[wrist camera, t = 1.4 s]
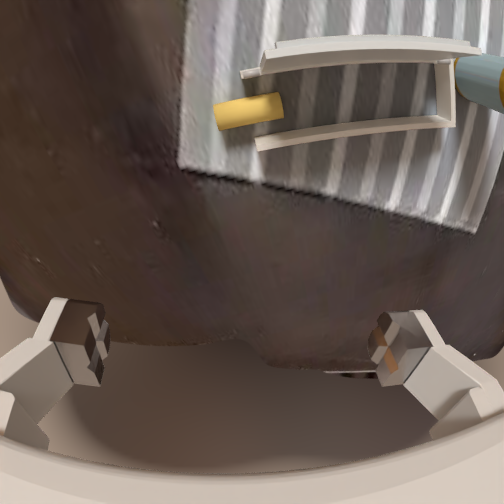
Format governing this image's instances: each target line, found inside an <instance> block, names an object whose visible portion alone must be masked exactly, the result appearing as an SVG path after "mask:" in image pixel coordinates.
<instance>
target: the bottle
mask: <svg viewBox="0 0 504 504" xmlns="http://www.w3.org/2000/svg"><path fill="white" fill-rule="evenodd" d="M454 80H455V86H456V89H457V91H458V92H459V93H460V94H461V96H463V97H464V98H466V99H468V100H470V101H472V102H475V103H478V104H480V105H483V106H485V107H488V108H490V109H493V110H495V111H498V112H500V113H502V114H504V57H499V56H494V55H489V54H484V53H482V55H479V56H469V57H460V58H456V60H455V62H454Z"/></svg>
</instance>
